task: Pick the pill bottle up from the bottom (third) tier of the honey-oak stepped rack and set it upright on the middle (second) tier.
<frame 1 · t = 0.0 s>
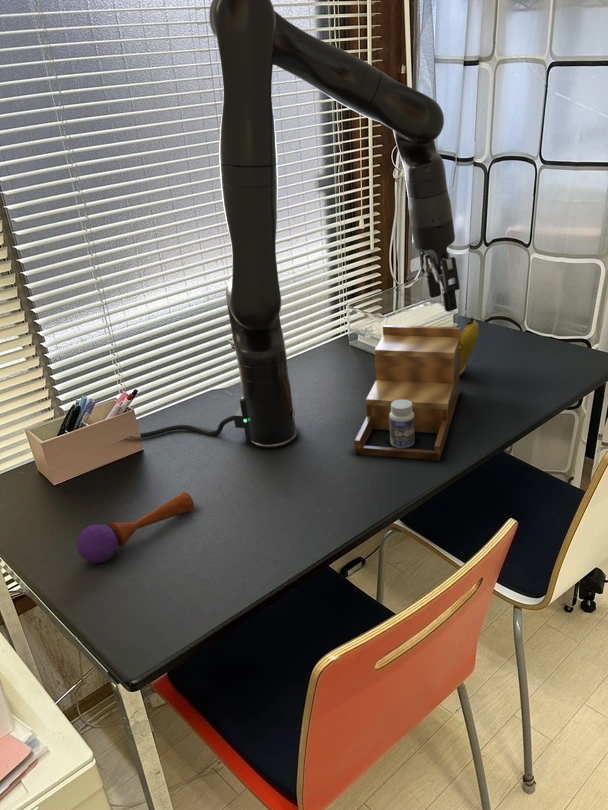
hand: (443, 303, 136), 22 cm above the table, tool pointing down, fingers open, 8 cm apart
kendama: (140, 537, 116), on the table
banana bunch: (455, 376, 160), on the table
pill bottle: (402, 443, 136), resting in stepped rack
stepped rack: (410, 421, 143), on the table
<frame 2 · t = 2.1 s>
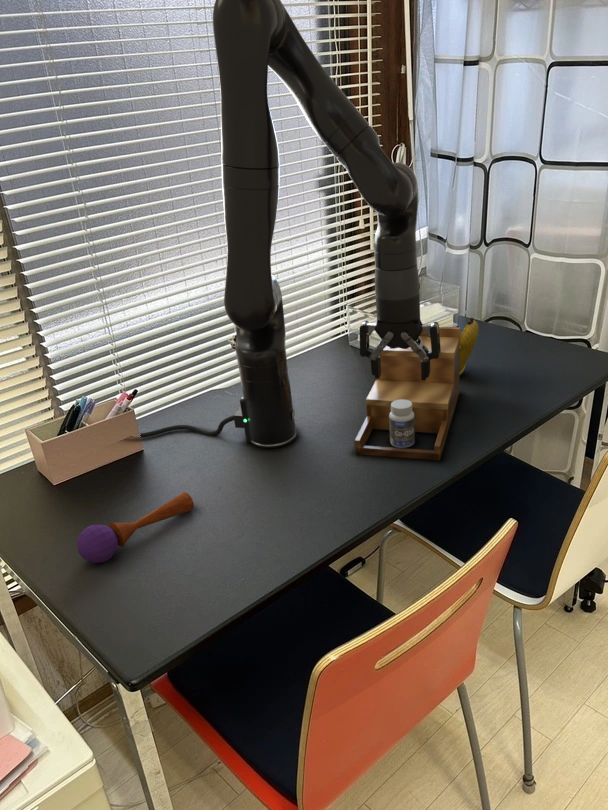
hand: (401, 377, 129), 14 cm above the table, tool pointing down, fingers open, 8 cm apart
nothing on the table moved.
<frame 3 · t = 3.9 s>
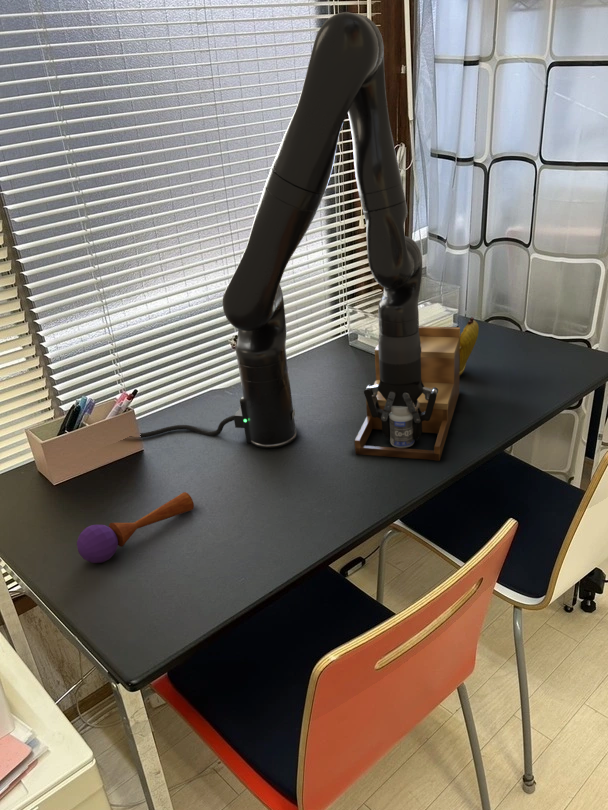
hand: (402, 436, 135), 1 cm above the table, tool pointing down, fingers closed on pill bottle, 4 cm apart
pill bottle: (402, 443, 136), resting in stepped rack, touching gripper
everything else where it was.
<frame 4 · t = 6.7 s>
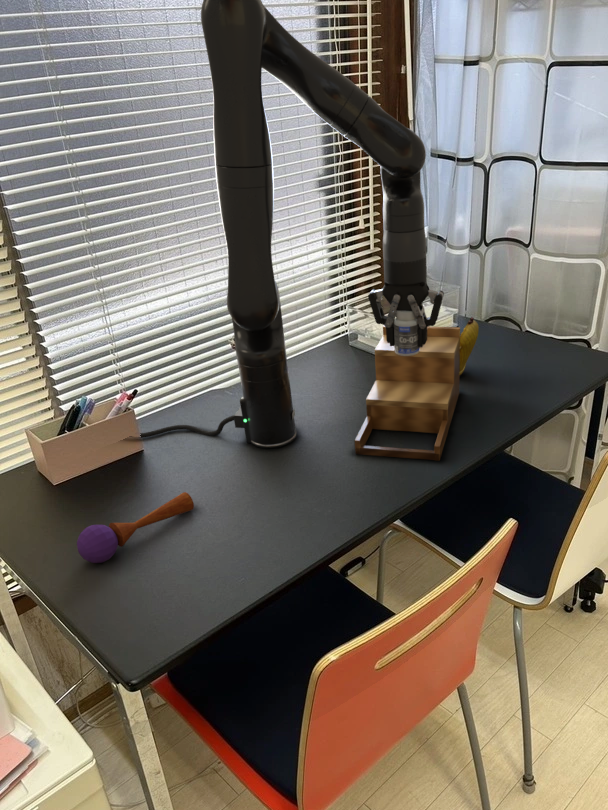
hand: (407, 344, 133), 17 cm above the table, tool pointing down, fingers closed on pill bottle, 4 cm apart
pill bottle: (407, 352, 134), point 16 cm above the table, touching gripper
everything else where it was.
when the fingers open (8 cm above the table, at t = 9.4 s): pill bottle stays where it is, resting on stepped rack.
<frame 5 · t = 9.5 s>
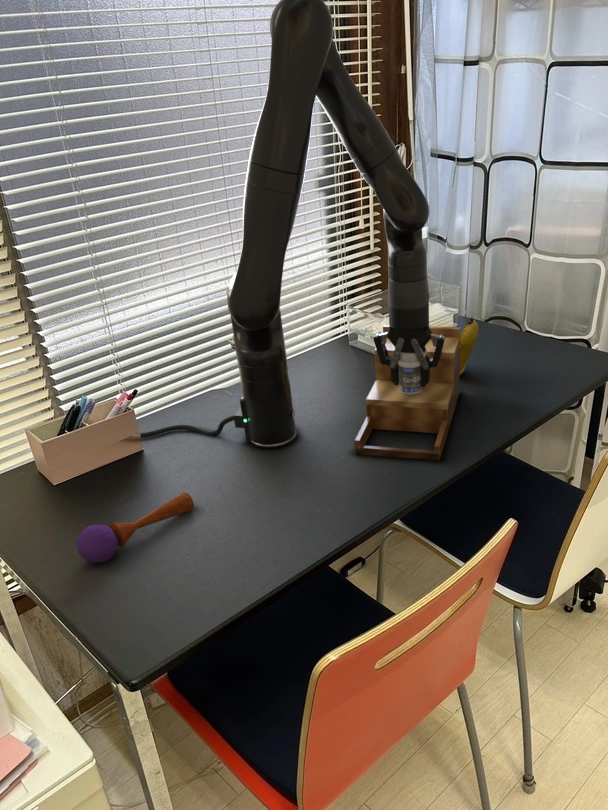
hand: (410, 383, 140), 8 cm above the table, tool pointing down, fingers open, 5 cm apart
pill bottle: (410, 391, 140), point 6 cm above the table, touching stepped rack
everything else where it was.
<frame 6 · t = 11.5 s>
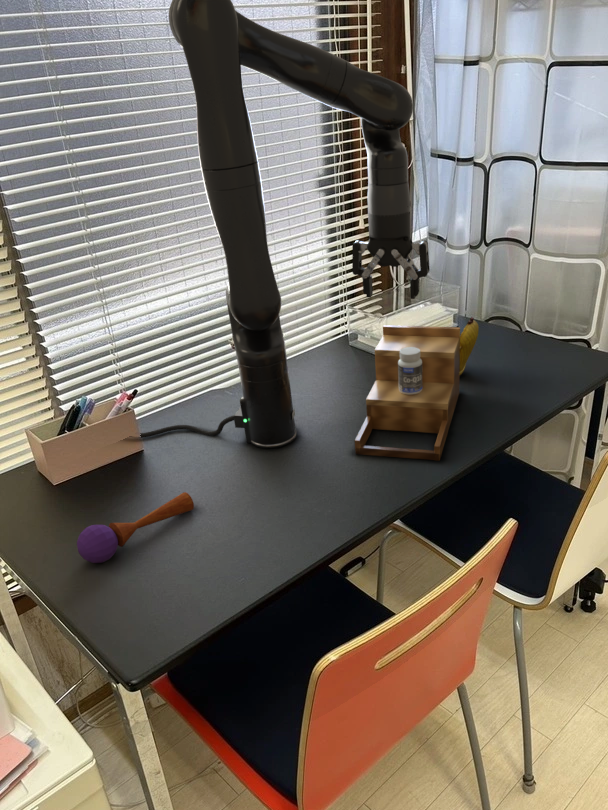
hand: (391, 297, 135), 24 cm above the table, tool pointing down, fingers open, 8 cm apart
nothing on the table moved.
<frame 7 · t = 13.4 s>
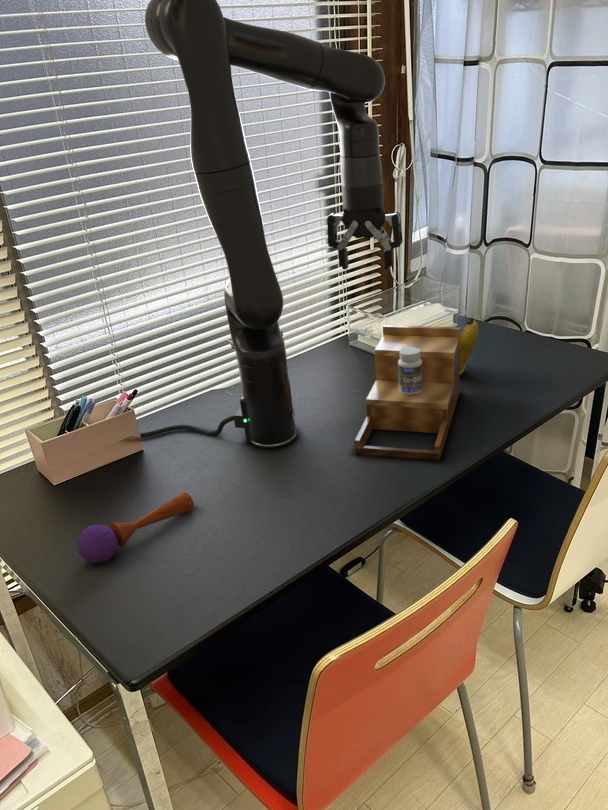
hand: (366, 268, 139), 28 cm above the table, tool pointing down, fingers open, 8 cm apart
nothing on the table moved.
at the end: pill bottle inside the target area on the stepped rack (0.0 cm from its centre), point 6.4 cm above the stepped rack's base; pill bottle tilted 0°; the gripper is holding nothing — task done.
